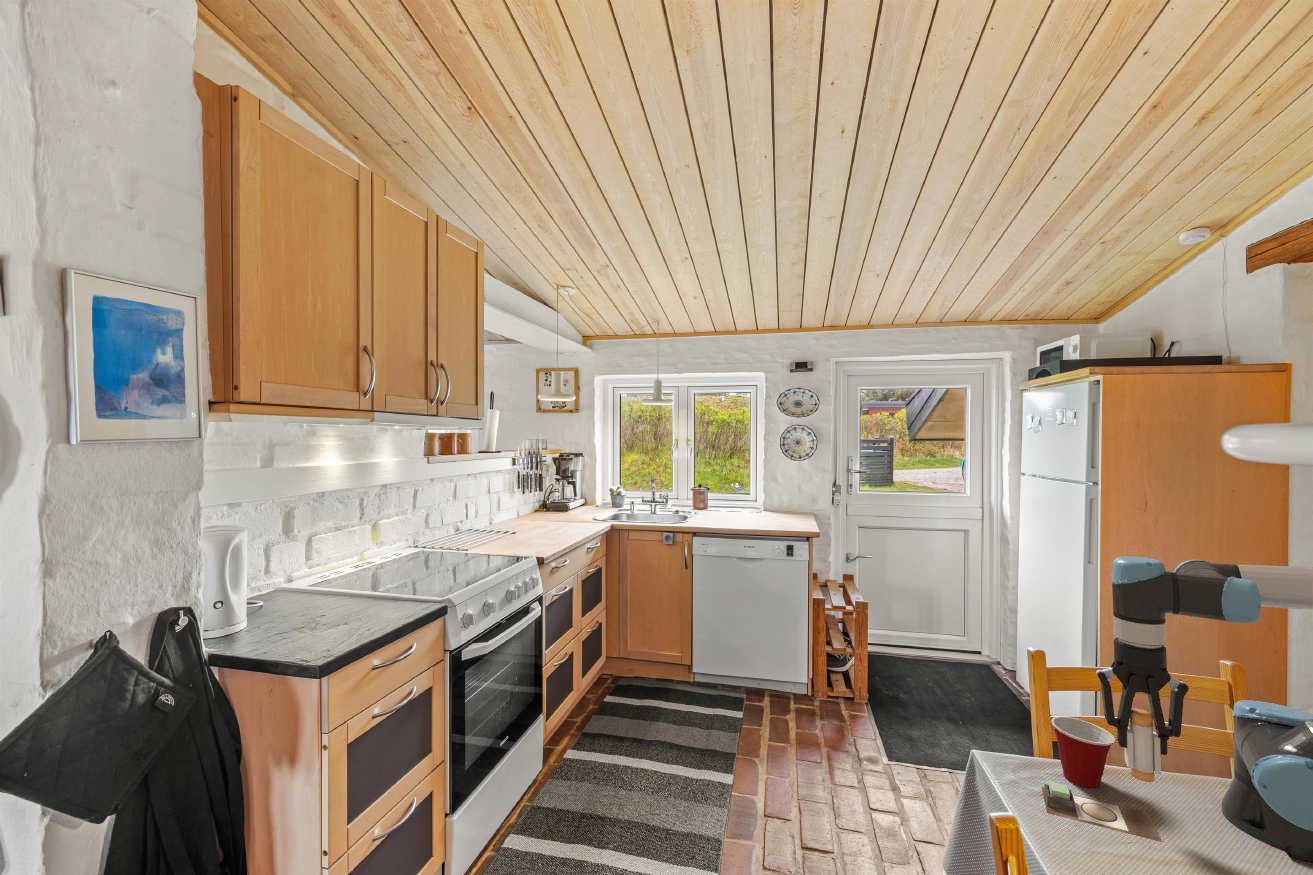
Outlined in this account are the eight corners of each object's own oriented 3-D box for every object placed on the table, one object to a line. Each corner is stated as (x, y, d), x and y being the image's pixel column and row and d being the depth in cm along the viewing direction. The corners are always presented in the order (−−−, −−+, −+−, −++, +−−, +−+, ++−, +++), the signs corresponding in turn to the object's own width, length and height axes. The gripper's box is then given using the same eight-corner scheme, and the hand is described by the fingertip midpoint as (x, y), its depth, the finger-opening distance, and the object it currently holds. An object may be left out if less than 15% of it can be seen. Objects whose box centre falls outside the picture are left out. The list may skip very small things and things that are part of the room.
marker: (1151, 774, 106) (1149, 710, 107) (1156, 783, 104) (1155, 717, 104) (1129, 769, 108) (1127, 706, 108) (1133, 778, 105) (1132, 714, 105)
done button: (1067, 795, 112) (1067, 785, 112) (1069, 804, 110) (1069, 794, 110) (1049, 791, 114) (1049, 781, 114) (1051, 799, 111) (1051, 789, 111)
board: (1147, 817, 109) (1147, 801, 109) (1162, 847, 101) (1162, 830, 101) (1041, 791, 117) (1041, 777, 117) (1047, 817, 109) (1047, 801, 109)
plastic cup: (1128, 803, 113) (1127, 743, 113) (1067, 797, 115) (1066, 738, 115) (1097, 772, 124) (1097, 717, 124) (1042, 766, 126) (1041, 712, 126)
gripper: (1189, 641, 105) (1193, 768, 105) (1081, 629, 113) (1084, 747, 113) (1205, 655, 99) (1208, 790, 99) (1089, 640, 107) (1092, 766, 106)
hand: (1142, 766), depth 106 cm, fingers closed on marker, 3 cm apart
